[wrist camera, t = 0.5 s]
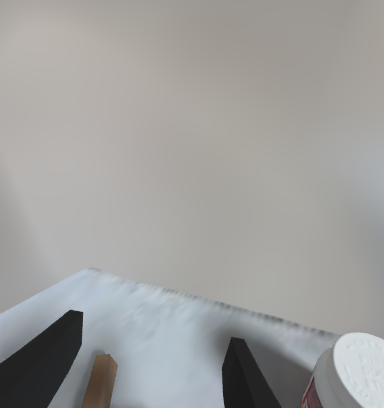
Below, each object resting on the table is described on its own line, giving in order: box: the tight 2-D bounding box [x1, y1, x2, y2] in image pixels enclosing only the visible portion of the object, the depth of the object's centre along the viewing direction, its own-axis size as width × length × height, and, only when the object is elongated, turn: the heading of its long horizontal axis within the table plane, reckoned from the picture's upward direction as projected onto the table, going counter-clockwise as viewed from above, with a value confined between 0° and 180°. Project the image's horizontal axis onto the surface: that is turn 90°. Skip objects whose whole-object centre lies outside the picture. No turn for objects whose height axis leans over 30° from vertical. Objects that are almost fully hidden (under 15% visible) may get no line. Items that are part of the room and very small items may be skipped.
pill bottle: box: [302, 332, 384, 408], centre depth 16 cm, size 6×6×11 cm
